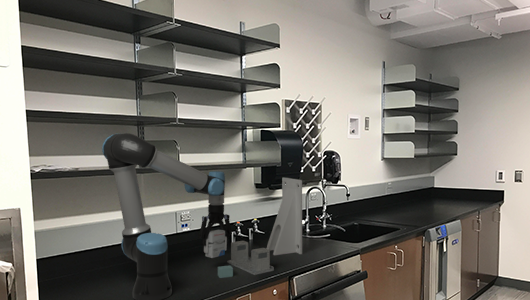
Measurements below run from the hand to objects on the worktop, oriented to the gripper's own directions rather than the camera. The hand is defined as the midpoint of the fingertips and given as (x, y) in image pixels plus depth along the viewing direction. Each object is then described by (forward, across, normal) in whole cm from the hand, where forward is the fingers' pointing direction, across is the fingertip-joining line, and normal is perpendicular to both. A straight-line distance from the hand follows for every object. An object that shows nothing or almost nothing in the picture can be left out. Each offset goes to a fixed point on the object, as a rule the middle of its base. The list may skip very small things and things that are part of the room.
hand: (215, 251), depth 198 cm
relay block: (+9, -1, -11) cm, 14 cm away
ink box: (+2, 0, 0) cm, 2 cm away
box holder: (+8, +16, -6) cm, 19 cm away
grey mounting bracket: (+8, +46, +7) cm, 47 cm away
